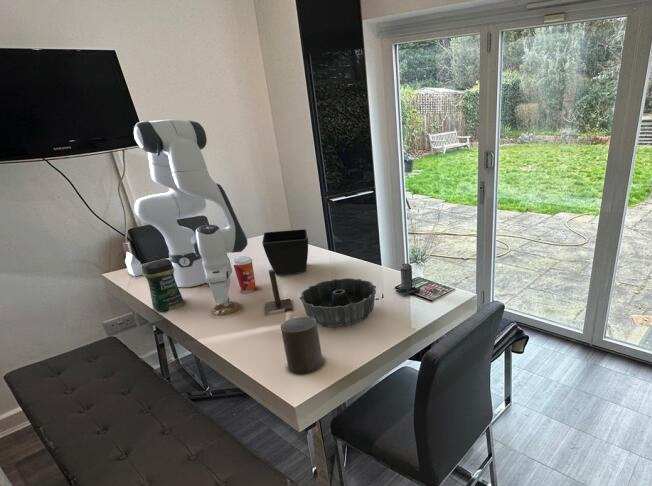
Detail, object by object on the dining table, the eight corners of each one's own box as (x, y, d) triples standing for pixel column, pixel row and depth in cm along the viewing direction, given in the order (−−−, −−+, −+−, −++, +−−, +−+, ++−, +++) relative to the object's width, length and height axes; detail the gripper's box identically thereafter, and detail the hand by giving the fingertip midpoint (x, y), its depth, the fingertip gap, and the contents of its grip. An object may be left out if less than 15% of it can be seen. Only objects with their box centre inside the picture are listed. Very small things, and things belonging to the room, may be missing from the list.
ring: (213, 309, 155) (212, 303, 154) (242, 304, 158) (241, 298, 157) (210, 320, 146) (209, 314, 145) (241, 315, 150) (239, 309, 149)
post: (266, 305, 157) (258, 268, 151) (290, 301, 161) (283, 264, 155) (266, 314, 150) (258, 276, 144) (292, 310, 153) (285, 272, 147)
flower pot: (311, 260, 204) (306, 228, 197) (313, 273, 187) (308, 238, 181) (270, 265, 198) (263, 232, 191) (269, 279, 181) (262, 243, 175)
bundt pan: (318, 300, 161) (314, 277, 157) (384, 300, 160) (382, 277, 156) (292, 334, 137) (287, 307, 133) (370, 334, 136) (367, 307, 132)
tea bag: (134, 276, 187) (127, 255, 183) (129, 273, 190) (122, 253, 186) (144, 274, 189) (137, 253, 185) (138, 271, 193) (131, 250, 189)
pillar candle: (299, 378, 114) (290, 331, 108) (282, 365, 120) (273, 320, 114) (329, 363, 120) (322, 318, 114) (311, 351, 126) (304, 308, 120)
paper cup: (251, 294, 167) (243, 262, 161) (234, 293, 168) (226, 261, 162) (262, 287, 174) (256, 256, 168) (246, 285, 175) (239, 255, 169)
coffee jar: (161, 313, 152) (146, 266, 144) (150, 308, 156) (135, 263, 148) (187, 303, 159) (174, 259, 152) (177, 299, 163) (163, 255, 156)
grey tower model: (407, 287, 172) (405, 260, 167) (421, 291, 168) (420, 264, 163) (392, 294, 165) (390, 266, 160) (407, 299, 161) (405, 270, 156)
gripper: (211, 262, 157) (219, 294, 162) (205, 280, 140) (215, 316, 145) (229, 259, 159) (237, 292, 165) (225, 277, 142) (234, 313, 147)
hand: (226, 303), depth 155 cm, fingers closed on ring, 2 cm apart
